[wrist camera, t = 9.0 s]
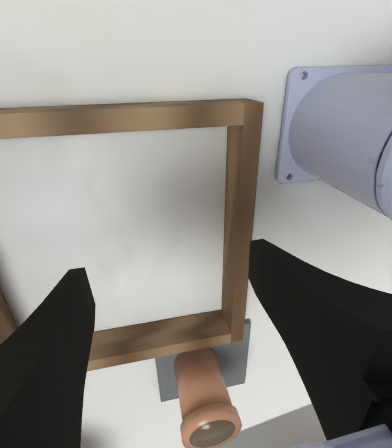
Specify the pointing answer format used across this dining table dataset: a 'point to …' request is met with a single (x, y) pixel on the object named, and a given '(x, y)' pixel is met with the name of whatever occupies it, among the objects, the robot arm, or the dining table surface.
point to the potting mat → (227, 358)
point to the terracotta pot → (204, 401)
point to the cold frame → (233, 223)
